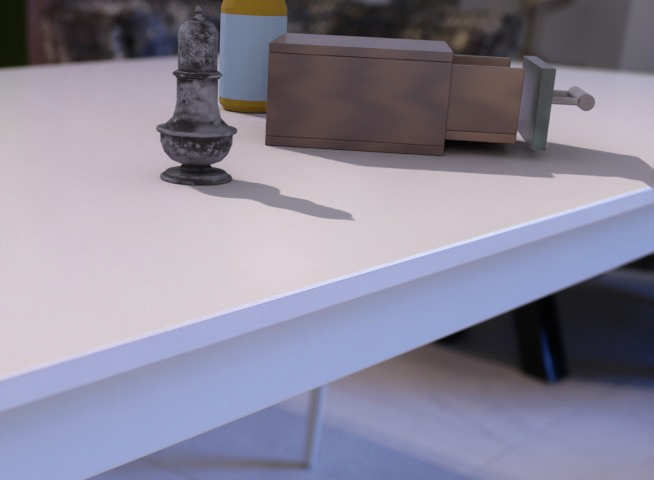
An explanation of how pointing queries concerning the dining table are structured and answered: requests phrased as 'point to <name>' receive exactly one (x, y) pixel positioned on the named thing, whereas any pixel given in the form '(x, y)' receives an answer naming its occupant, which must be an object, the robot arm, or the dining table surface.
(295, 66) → the cabinet
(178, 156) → the salt shaker
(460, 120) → the drawer
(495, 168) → the dining table surface
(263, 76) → the bottle
